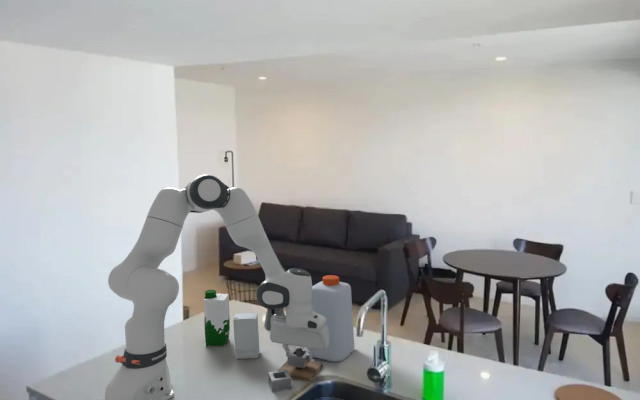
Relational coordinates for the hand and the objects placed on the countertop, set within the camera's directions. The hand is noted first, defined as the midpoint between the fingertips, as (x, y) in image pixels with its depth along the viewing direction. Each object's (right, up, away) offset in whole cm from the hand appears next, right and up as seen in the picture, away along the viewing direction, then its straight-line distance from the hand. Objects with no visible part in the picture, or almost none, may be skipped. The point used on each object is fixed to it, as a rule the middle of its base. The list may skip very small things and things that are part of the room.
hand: (299, 357), depth 162 cm
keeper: (0, -4, 0) cm, 4 cm away
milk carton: (-32, -2, +23) cm, 39 cm away
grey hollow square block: (0, -2, 0) cm, 2 cm away
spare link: (-6, -6, -10) cm, 13 cm away
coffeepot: (-11, 0, +38) cm, 39 cm away
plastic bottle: (+11, -3, +14) cm, 18 cm away
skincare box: (-19, -3, +12) cm, 23 cm away
